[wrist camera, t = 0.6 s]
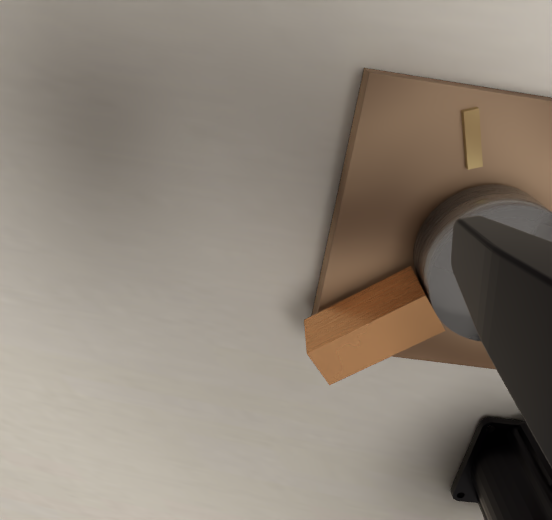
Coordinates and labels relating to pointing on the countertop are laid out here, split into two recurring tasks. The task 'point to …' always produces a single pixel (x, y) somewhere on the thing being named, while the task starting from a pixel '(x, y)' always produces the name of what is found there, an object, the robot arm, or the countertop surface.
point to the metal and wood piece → (416, 288)
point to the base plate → (426, 179)
